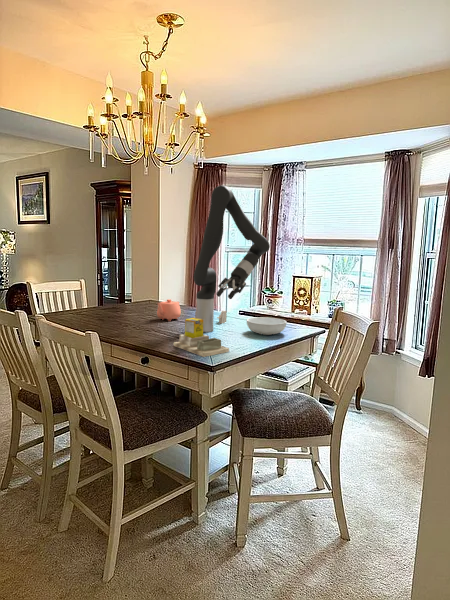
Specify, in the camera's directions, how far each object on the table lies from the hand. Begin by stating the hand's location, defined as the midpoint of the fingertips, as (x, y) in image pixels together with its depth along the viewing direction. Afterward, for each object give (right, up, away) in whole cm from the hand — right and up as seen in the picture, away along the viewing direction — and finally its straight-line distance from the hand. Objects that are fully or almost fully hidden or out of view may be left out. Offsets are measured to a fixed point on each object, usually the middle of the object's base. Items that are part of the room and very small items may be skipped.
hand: (223, 296), depth 194 cm
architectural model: (-1, -15, +47) cm, 50 cm away
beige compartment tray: (-10, -23, -10) cm, 27 cm away
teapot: (-33, -13, +52) cm, 63 cm away
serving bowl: (+22, -19, +24) cm, 38 cm away
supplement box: (-13, -21, -7) cm, 26 cm away
